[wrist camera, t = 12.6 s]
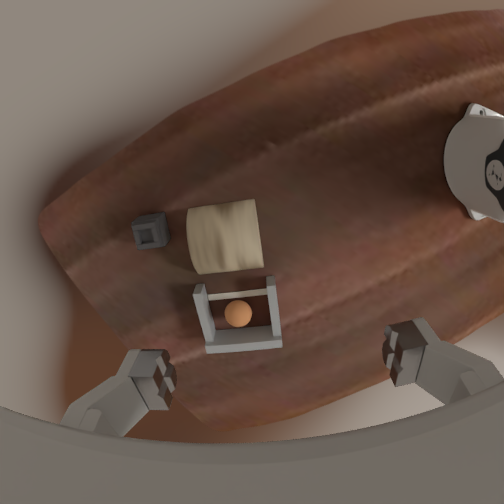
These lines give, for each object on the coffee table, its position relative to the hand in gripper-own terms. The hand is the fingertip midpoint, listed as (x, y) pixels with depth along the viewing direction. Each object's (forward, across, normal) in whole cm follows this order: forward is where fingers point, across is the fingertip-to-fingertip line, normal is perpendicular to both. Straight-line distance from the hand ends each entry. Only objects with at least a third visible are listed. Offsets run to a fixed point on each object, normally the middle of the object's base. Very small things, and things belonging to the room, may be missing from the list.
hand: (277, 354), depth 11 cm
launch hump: (+37, +6, +6) cm, 38 cm away
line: (+31, +6, +15) cm, 35 cm away
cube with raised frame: (+31, +16, +3) cm, 35 cm away
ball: (+29, +6, +17) cm, 34 cm away
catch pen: (+31, +6, +18) cm, 36 cm away
